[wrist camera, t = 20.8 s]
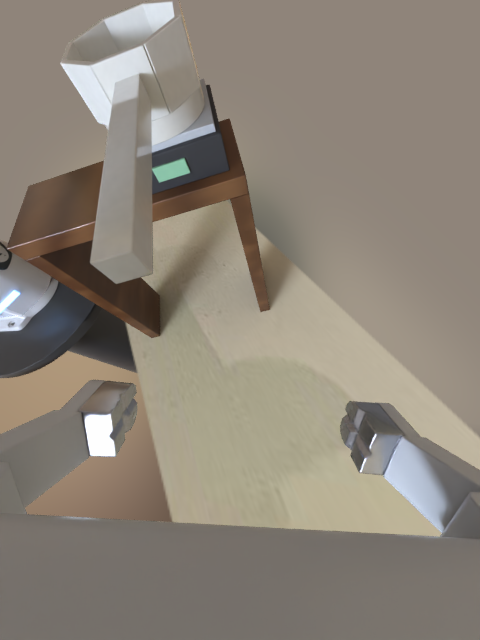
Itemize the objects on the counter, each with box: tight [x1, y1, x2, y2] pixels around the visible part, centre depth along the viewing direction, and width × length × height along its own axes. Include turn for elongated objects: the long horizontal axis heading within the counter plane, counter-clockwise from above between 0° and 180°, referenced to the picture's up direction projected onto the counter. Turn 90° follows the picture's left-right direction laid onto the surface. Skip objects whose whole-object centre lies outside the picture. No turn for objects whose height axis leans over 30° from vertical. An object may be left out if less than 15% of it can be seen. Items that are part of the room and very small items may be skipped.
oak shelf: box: [6, 119, 270, 338], centre depth 29 cm, size 20×8×22 cm, turn 100°
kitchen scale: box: [152, 79, 230, 194], centre depth 18 cm, size 8×7×3 cm
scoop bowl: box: [60, 0, 205, 284], centre depth 12 cm, size 7×19×4 cm, turn 10°
